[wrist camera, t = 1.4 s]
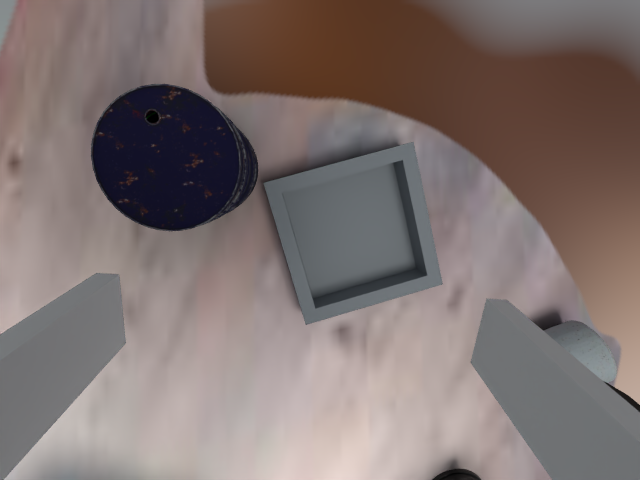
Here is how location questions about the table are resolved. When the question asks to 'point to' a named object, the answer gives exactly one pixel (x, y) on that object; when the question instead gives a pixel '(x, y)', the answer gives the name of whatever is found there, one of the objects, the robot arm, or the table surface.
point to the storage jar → (171, 158)
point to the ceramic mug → (585, 348)
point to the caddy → (355, 232)
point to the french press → (457, 475)
